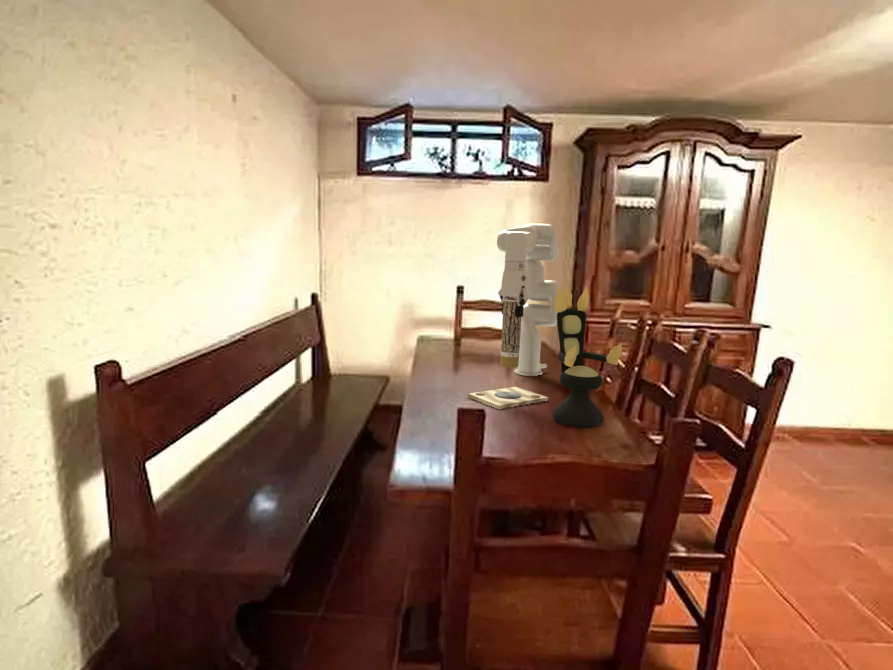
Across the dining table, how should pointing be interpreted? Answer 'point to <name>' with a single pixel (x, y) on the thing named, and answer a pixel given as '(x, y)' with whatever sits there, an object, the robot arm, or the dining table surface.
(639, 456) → the dining table surface
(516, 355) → the paper tube
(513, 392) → the board
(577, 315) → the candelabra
